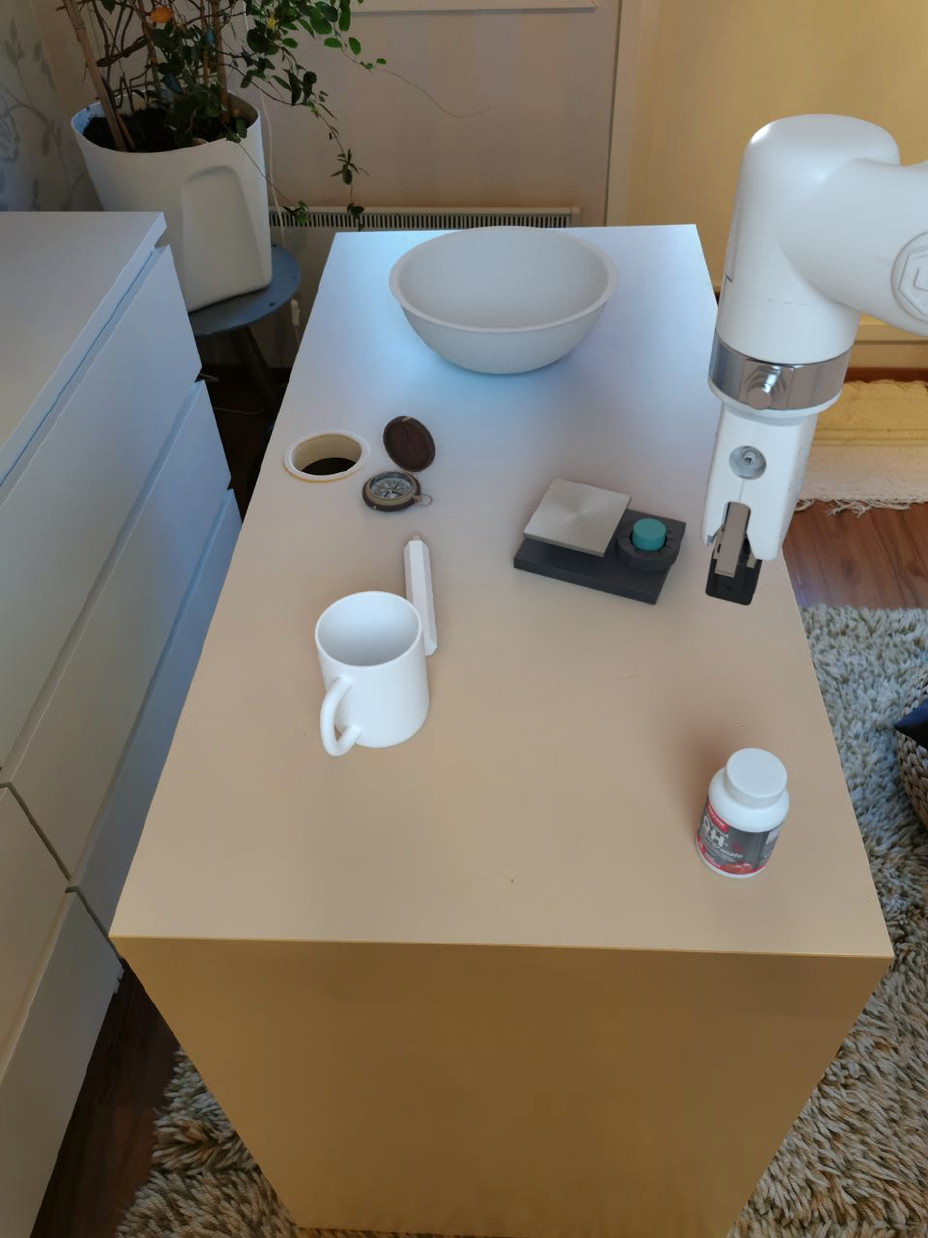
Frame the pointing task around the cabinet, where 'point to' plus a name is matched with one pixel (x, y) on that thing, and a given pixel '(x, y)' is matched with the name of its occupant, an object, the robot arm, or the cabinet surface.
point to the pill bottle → (743, 814)
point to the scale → (609, 561)
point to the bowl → (503, 295)
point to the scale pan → (578, 517)
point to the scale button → (648, 534)
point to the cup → (371, 671)
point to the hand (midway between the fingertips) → (729, 593)
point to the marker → (421, 588)
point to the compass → (401, 466)
